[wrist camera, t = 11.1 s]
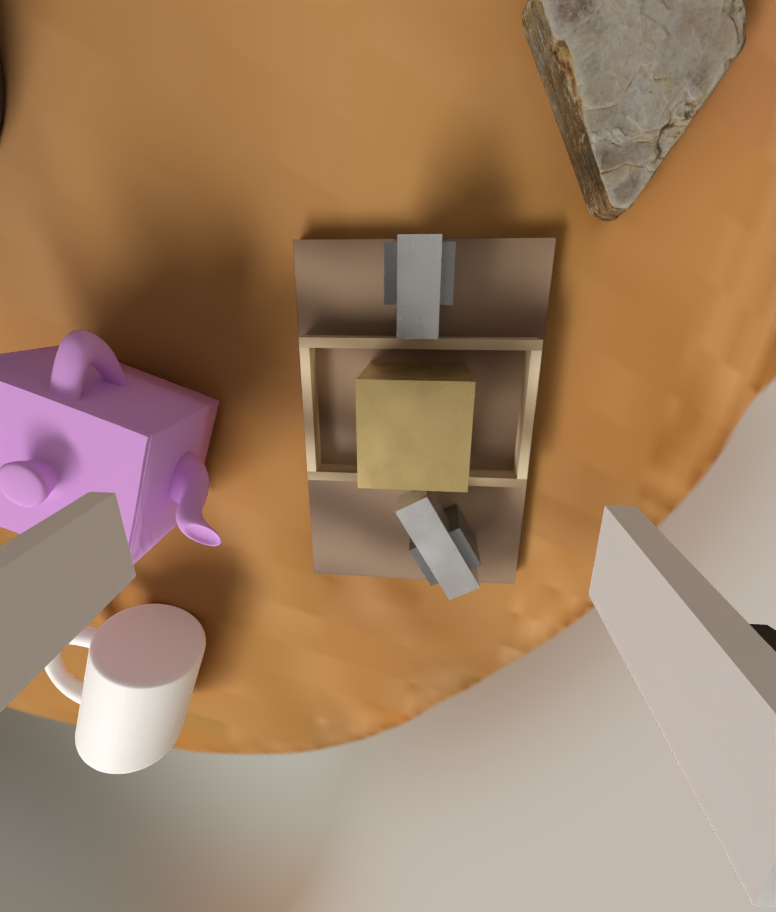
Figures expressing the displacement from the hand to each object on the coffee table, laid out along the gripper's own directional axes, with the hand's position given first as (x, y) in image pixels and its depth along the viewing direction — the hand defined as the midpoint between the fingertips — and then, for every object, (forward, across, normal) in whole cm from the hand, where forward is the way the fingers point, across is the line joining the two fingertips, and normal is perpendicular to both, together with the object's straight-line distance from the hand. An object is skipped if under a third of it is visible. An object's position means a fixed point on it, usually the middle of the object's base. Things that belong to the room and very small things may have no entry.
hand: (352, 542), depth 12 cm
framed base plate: (+19, +2, -2) cm, 19 cm away
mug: (+19, -22, -23) cm, 37 cm away
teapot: (+19, -18, -3) cm, 27 cm away
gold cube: (+18, +1, -1) cm, 18 cm away
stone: (+20, +12, +18) cm, 29 cm away
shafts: (+18, +3, -2) cm, 18 cm away
